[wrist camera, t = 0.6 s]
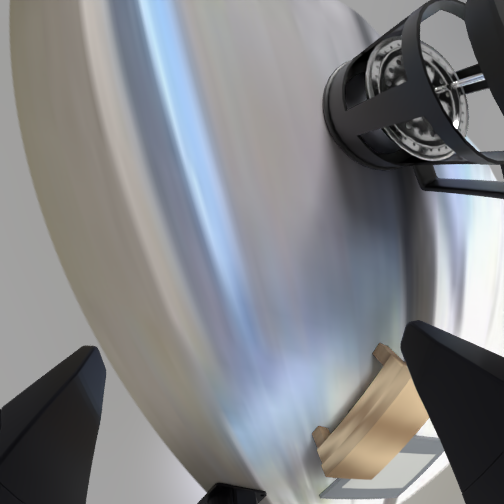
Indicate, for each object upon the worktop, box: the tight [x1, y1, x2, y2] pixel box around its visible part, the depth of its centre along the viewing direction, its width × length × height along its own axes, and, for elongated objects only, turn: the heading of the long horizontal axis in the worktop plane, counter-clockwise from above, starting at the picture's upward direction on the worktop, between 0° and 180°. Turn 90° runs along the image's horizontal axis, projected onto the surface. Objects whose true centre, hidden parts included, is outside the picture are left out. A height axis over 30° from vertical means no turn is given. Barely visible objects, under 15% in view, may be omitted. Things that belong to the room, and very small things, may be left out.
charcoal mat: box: [319, 435, 444, 499], centre depth 31 cm, size 13×16×1 cm
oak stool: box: [312, 343, 429, 480], centre depth 24 cm, size 12×6×6 cm, turn 152°
